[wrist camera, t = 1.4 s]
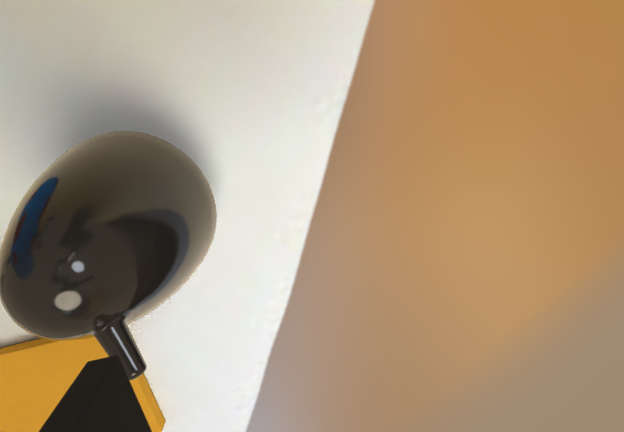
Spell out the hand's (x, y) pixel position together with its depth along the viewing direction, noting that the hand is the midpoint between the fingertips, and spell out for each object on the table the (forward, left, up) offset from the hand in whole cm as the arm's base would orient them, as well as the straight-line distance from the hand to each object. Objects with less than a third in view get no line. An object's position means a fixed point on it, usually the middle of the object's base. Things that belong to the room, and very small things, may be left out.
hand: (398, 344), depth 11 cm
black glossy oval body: (+12, -5, -23) cm, 27 cm away
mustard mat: (+30, +1, -23) cm, 38 cm away
